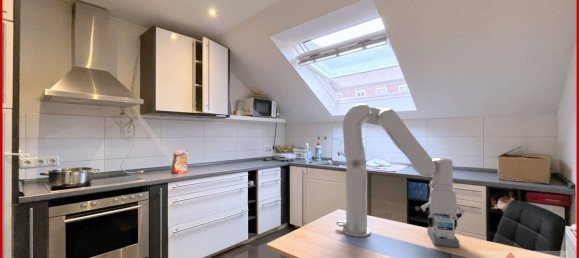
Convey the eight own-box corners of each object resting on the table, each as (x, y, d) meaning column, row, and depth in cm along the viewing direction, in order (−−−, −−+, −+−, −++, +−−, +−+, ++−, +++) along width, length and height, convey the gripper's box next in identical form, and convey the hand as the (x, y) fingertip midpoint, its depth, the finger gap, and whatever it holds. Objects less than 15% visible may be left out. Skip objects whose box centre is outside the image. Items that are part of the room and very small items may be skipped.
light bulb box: (455, 245, 108) (455, 219, 108) (437, 243, 110) (437, 217, 110) (446, 234, 119) (446, 210, 119) (430, 233, 120) (430, 209, 120)
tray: (434, 245, 109) (434, 238, 109) (427, 233, 122) (427, 226, 122) (459, 248, 107) (459, 241, 107) (449, 235, 119) (449, 228, 119)
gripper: (421, 187, 113) (421, 228, 113) (468, 190, 108) (468, 232, 108) (418, 183, 120) (418, 222, 120) (462, 186, 115) (462, 226, 115)
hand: (442, 227), depth 114 cm, fingers open, 8 cm apart
